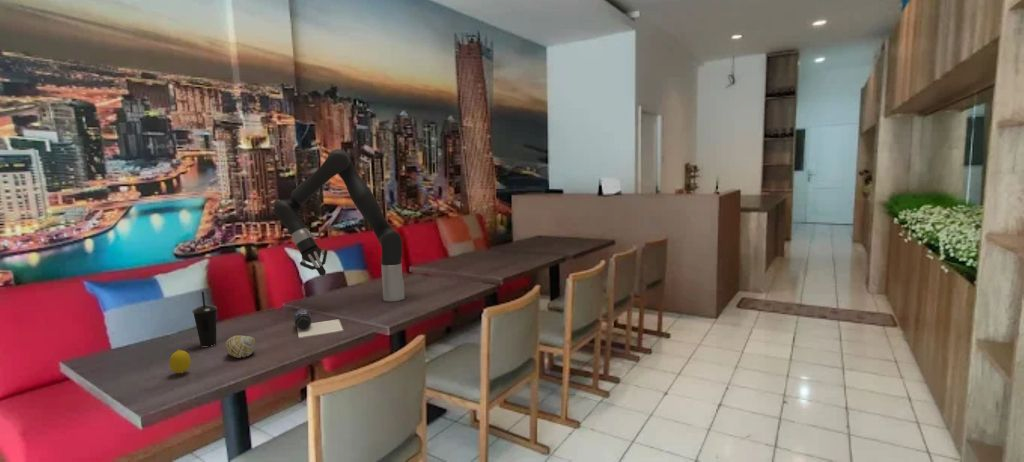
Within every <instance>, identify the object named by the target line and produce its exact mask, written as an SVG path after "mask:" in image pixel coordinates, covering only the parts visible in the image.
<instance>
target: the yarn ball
mask: <svg viewBox="0 0 1024 462" xmlns="http://www.w3.org/2000/svg"><path fill="white" fill-rule="evenodd" d="M255 340H256V339H255V338H254V337H253V336H250V335H249V336H248V335H246V336H245V335H241V334H237V335H233V336H231V337H230V338H228V340H226V342H225V345H224V346H225V350H226V351H227V352H228V353H227V354H229V355H230V356H231V357H234V358H236V359H242V358H241V357H243V358H246V356H247V357H249V356H250V355H252V354H253V352H254V351H255V348H256V341H255Z"/></svg>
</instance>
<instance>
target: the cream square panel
mask: <svg viewBox="0 0 1024 462" xmlns="http://www.w3.org/2000/svg"><path fill="white" fill-rule="evenodd" d="M296 329H297V334H298V335H297V337H298V339H304V338H312V337H316V336H323V335H331V334H335V333H341V332H344V329H343V326H342V323H341V321H340V319H339V318H338V319H331V320H326V321H325V320H323V321H319V322H311V325H310V326H309V327H308V328H307V329H305V330H301V329H299V328H297V327H296Z"/></svg>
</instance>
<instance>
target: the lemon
mask: <svg viewBox="0 0 1024 462" xmlns="http://www.w3.org/2000/svg"><path fill="white" fill-rule="evenodd" d="M169 358H170V359H169V366H170V369H171V371H173V372H174V373H177V374H180V373H182V372H184V373H185V372H186V371H188V369H189V368H190V366H191V362H192V359H191V356H190V355H189V353H188V352H187V351H185V350H182V349H177V350H176V351H175V352H173V353H172V354H171V356H170V357H169Z"/></svg>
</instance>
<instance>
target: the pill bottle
mask: <svg viewBox="0 0 1024 462" xmlns="http://www.w3.org/2000/svg"><path fill="white" fill-rule="evenodd" d="M293 317H294V326H296V329H297V328H299V329H301V330H305V329H307V328H308V327H309V326H310V325H311V323H312V317H311V313H310V311H309V310H308V309H304V308H301V309H298V310H297V311H296V312H295V313H294V315H293Z"/></svg>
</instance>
